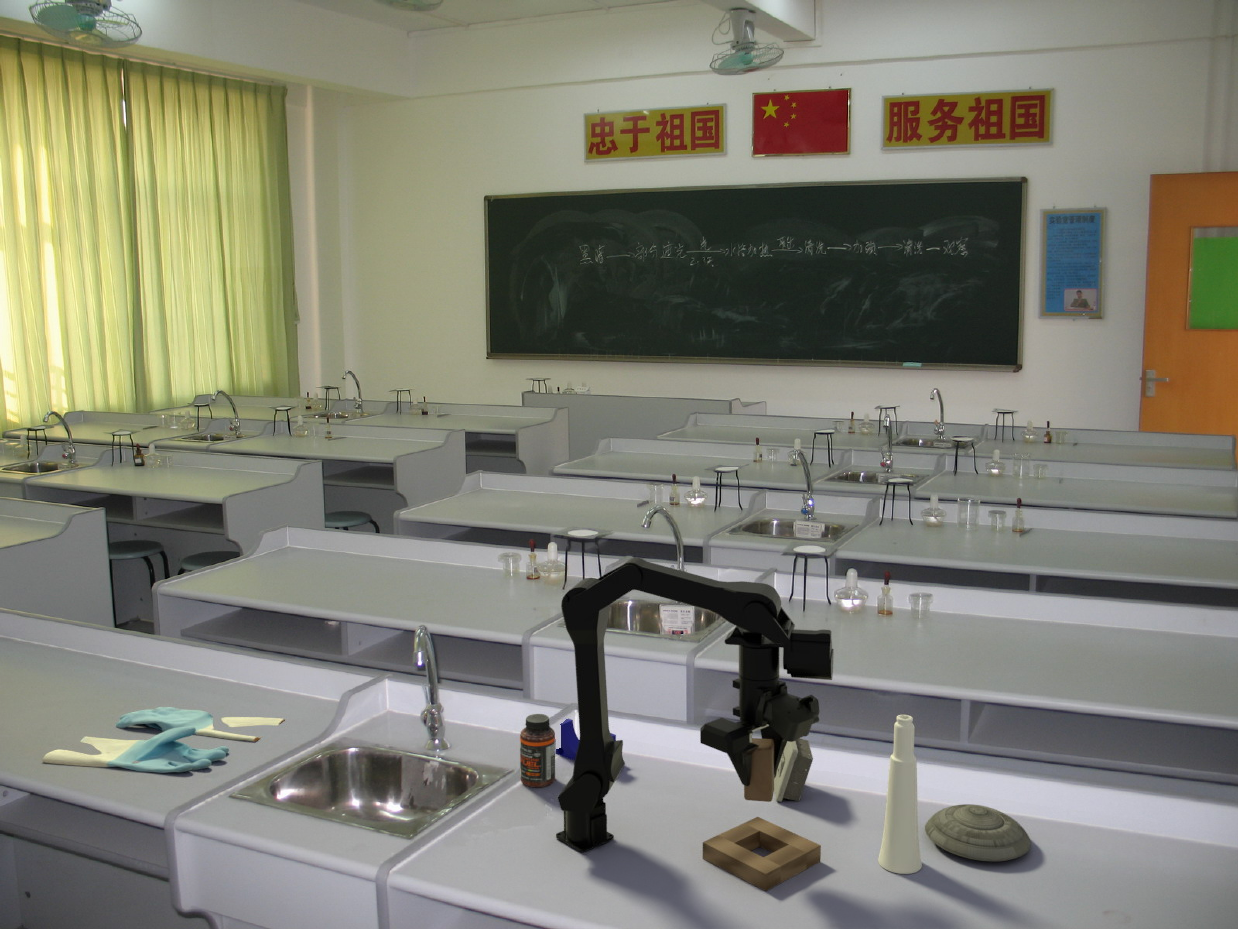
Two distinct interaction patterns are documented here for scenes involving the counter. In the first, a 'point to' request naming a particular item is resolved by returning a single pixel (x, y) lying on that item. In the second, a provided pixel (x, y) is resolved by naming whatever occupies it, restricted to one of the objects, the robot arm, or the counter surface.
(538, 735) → the supplement bottle
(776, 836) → the socket collar
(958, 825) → the flying saucer
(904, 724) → the cosmetic bottle
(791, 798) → the electrical switch
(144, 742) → the rubber gloves
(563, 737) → the cable clip
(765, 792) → the wooden block
